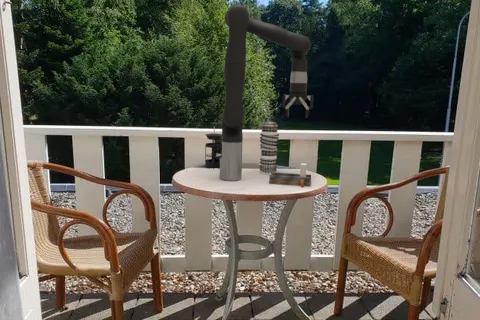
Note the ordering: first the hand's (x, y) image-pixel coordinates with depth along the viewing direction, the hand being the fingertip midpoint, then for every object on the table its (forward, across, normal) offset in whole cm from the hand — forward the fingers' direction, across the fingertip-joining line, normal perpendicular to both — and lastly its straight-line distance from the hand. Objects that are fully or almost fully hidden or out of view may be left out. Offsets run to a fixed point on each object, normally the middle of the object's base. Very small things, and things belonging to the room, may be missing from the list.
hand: (296, 117), depth 194 cm
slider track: (+28, +1, +13) cm, 31 cm away
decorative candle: (+28, +13, -5) cm, 32 cm away
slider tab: (+26, -5, +13) cm, 30 cm away
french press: (+28, +42, -10) cm, 51 cm away
